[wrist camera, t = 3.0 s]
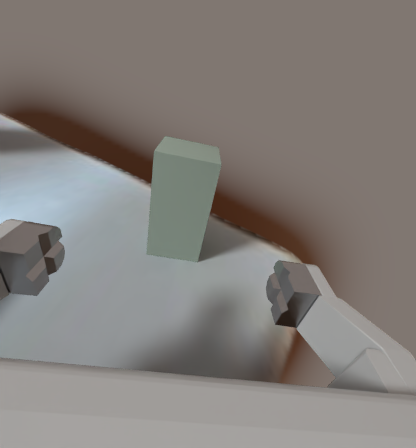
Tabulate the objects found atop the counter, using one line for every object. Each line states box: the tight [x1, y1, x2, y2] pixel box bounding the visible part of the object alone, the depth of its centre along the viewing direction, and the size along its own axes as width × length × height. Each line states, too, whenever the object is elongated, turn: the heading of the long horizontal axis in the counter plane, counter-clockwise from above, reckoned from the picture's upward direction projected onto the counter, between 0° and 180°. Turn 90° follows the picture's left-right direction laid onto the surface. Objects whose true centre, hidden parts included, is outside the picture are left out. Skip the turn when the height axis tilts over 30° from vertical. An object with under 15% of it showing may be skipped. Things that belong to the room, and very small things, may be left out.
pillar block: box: [147, 136, 221, 262], centre depth 21 cm, size 5×5×10 cm
